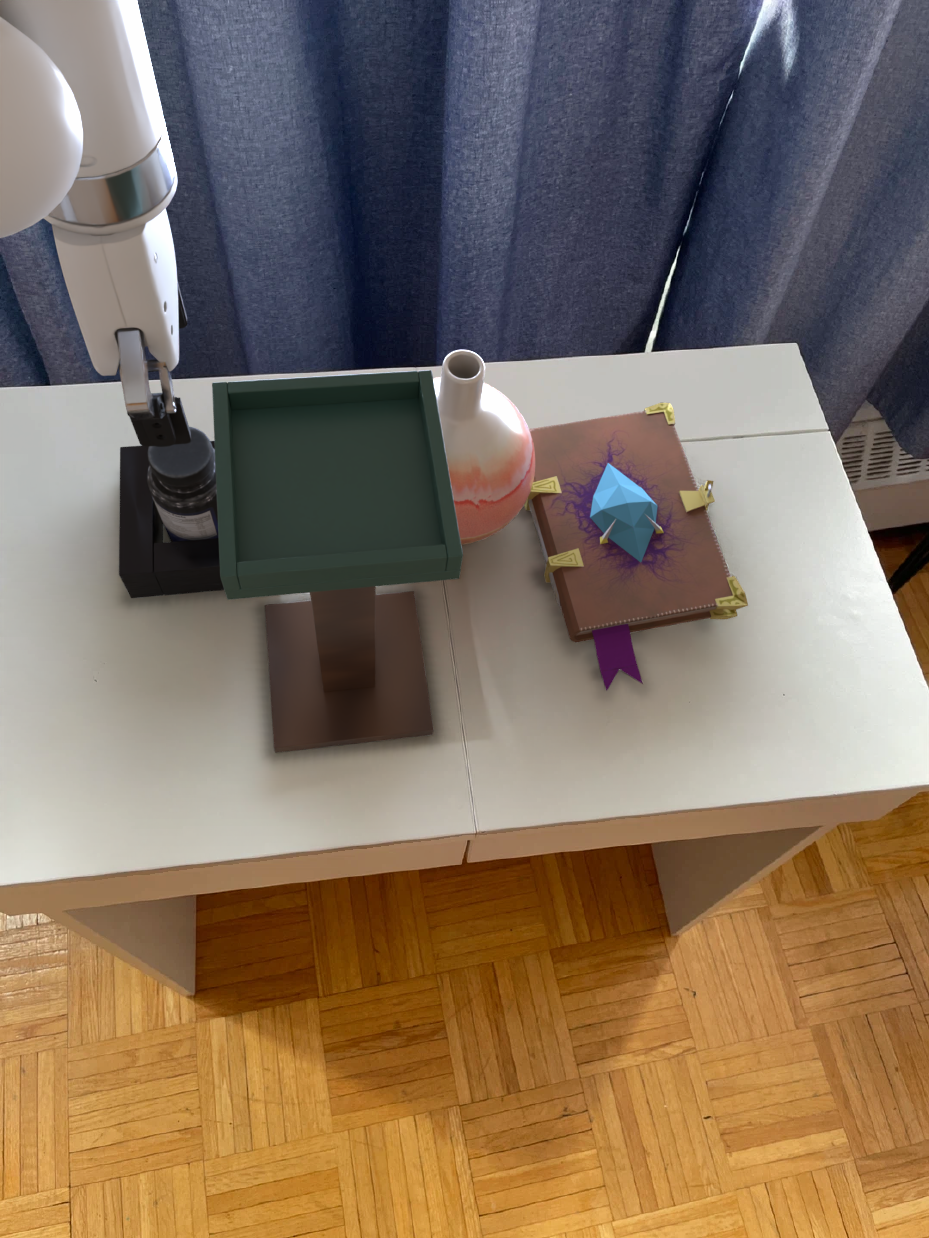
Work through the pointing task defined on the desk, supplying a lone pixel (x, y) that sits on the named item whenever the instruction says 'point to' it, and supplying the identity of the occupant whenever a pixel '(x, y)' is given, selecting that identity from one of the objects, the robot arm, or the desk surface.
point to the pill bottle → (185, 487)
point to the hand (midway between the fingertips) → (165, 381)
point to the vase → (482, 448)
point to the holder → (157, 541)
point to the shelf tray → (332, 484)
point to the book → (626, 532)
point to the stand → (346, 669)
